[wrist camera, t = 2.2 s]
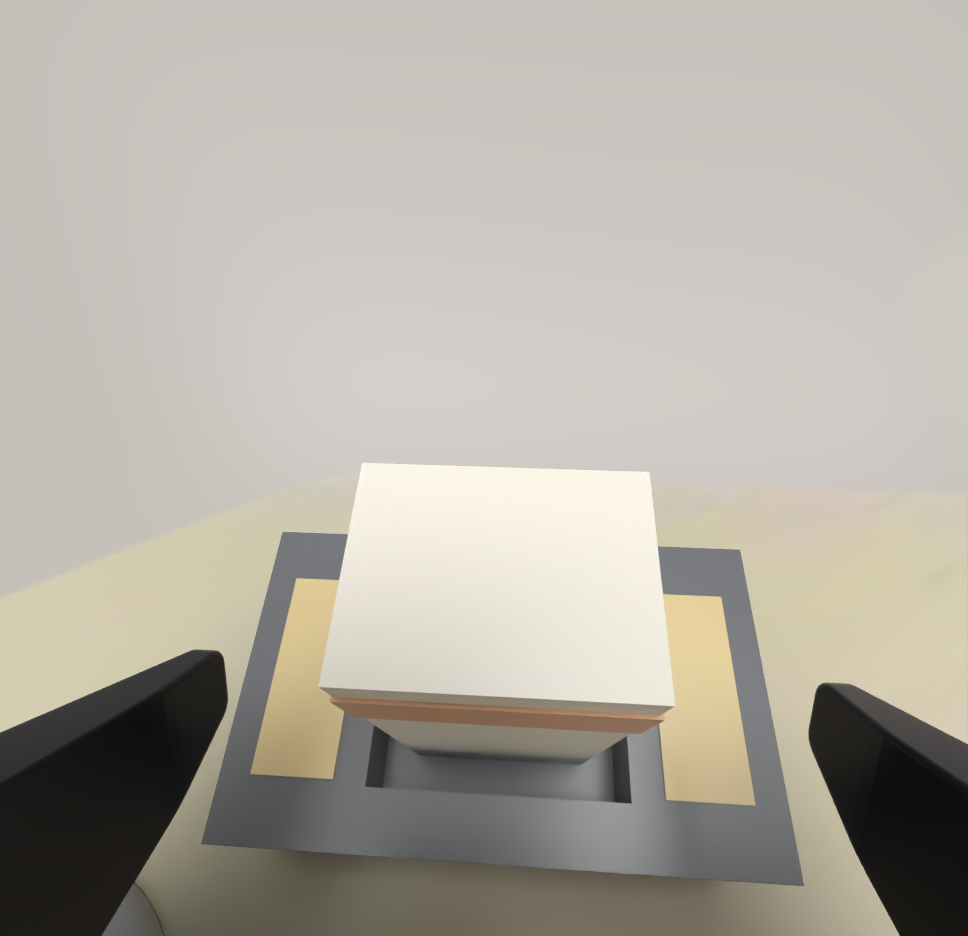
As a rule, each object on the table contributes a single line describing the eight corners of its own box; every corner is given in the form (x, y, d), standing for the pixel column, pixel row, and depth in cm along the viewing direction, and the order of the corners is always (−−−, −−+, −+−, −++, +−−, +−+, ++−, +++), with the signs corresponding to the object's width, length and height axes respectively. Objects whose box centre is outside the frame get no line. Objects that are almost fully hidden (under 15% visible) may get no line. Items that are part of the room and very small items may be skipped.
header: (725, 866, 15) (806, 886, 11) (276, 836, 15) (199, 844, 12) (690, 604, 18) (741, 548, 15) (327, 588, 19) (281, 530, 15)
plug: (582, 767, 14) (680, 711, 6) (416, 756, 14) (312, 691, 6) (578, 639, 16) (652, 469, 8) (429, 631, 16) (358, 459, 8)
